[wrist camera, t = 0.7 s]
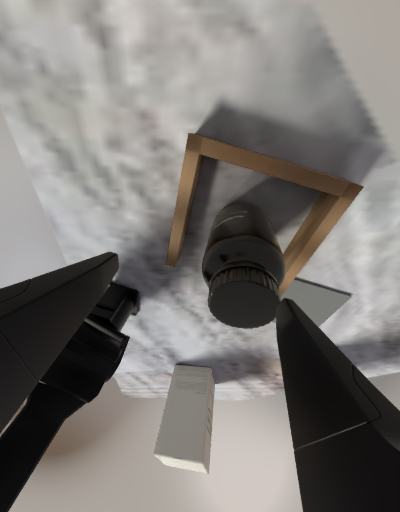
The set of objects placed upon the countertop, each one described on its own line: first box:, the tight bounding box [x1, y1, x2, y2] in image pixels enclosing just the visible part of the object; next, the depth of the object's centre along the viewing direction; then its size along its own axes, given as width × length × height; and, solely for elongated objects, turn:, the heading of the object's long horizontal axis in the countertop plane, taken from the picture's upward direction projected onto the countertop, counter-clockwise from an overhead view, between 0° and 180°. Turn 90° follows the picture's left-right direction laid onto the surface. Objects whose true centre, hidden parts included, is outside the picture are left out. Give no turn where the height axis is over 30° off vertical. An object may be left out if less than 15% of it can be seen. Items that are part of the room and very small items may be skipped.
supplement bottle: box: [202, 203, 286, 329], centre depth 17 cm, size 7×7×12 cm
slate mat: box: [272, 279, 351, 327], centre depth 27 cm, size 9×9×1 cm
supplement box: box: [154, 365, 215, 474], centre depth 38 cm, size 9×9×15 cm
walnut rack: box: [166, 133, 363, 297], centre depth 20 cm, size 14×15×3 cm
